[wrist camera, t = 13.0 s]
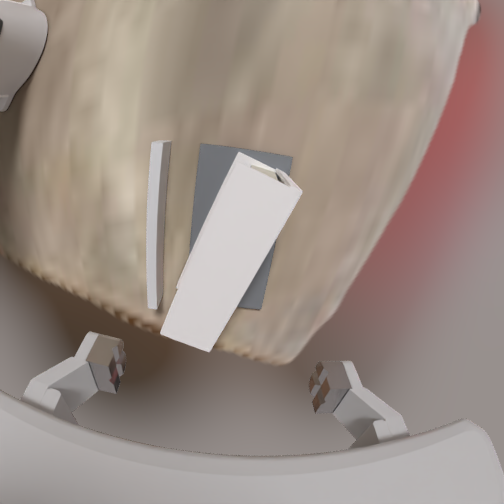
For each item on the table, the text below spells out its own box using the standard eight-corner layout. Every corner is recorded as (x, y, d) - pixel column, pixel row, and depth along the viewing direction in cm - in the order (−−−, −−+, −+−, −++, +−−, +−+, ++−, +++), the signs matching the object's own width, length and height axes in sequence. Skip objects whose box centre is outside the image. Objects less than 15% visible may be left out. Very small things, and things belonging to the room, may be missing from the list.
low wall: (154, 293, 36) (148, 308, 33) (161, 140, 28) (151, 142, 25) (163, 294, 37) (157, 309, 33) (171, 140, 28) (163, 142, 25)
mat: (187, 297, 37) (186, 300, 36) (201, 143, 29) (200, 143, 28) (260, 306, 38) (261, 309, 37) (291, 157, 30) (292, 157, 29)
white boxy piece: (239, 149, 29) (238, 159, 20) (285, 172, 30) (303, 191, 21) (173, 293, 36) (156, 341, 27) (211, 309, 37) (205, 359, 29)
